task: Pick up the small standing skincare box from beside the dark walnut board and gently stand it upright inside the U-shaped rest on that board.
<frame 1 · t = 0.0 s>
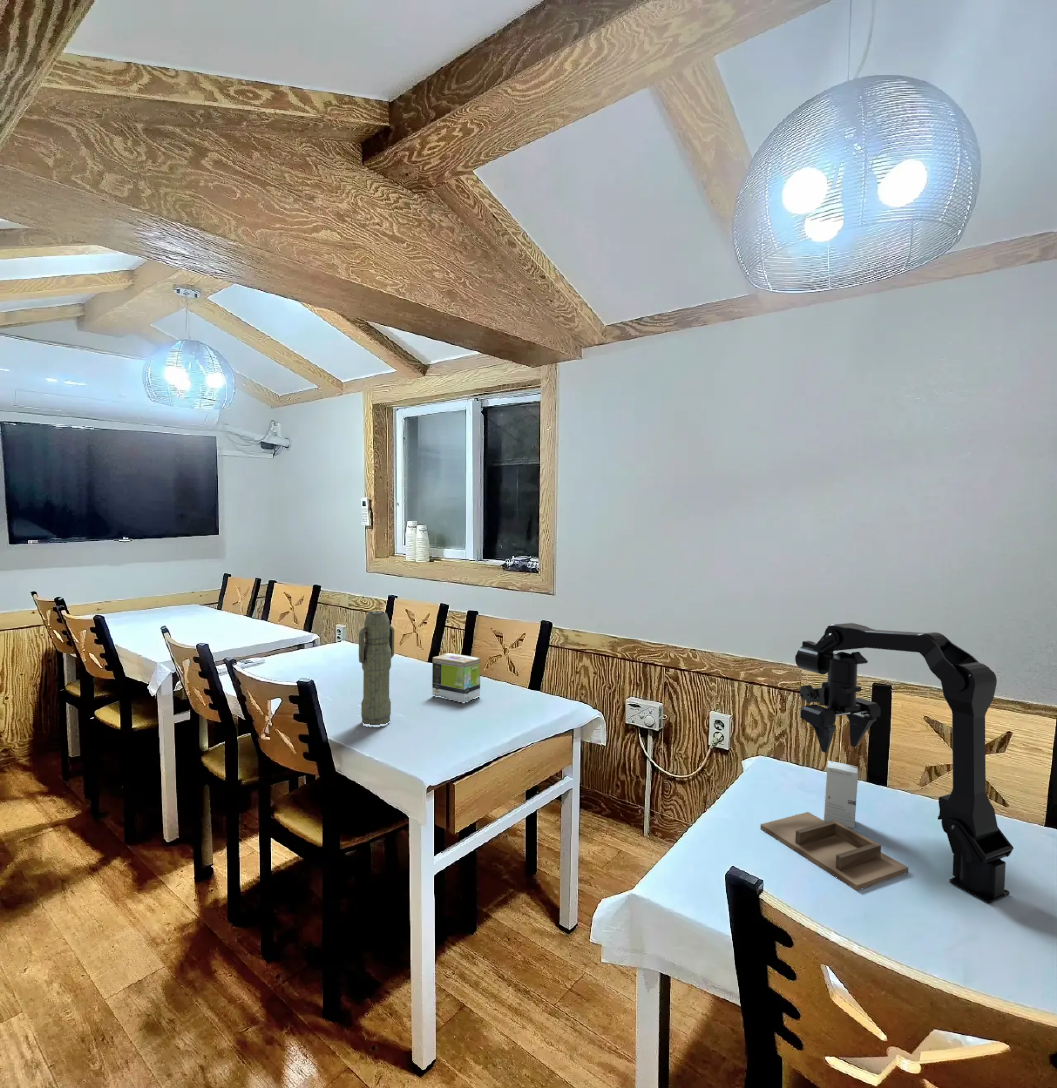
hand: (839, 749, 127), 15 cm above the table, tool pointing down, fingers open, 9 cm apart
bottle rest: (829, 849, 114), on the table
skincare box: (839, 821, 125), on the table
tea box: (456, 697, 208), on the table
olive robed figurine: (376, 723, 180), on the table
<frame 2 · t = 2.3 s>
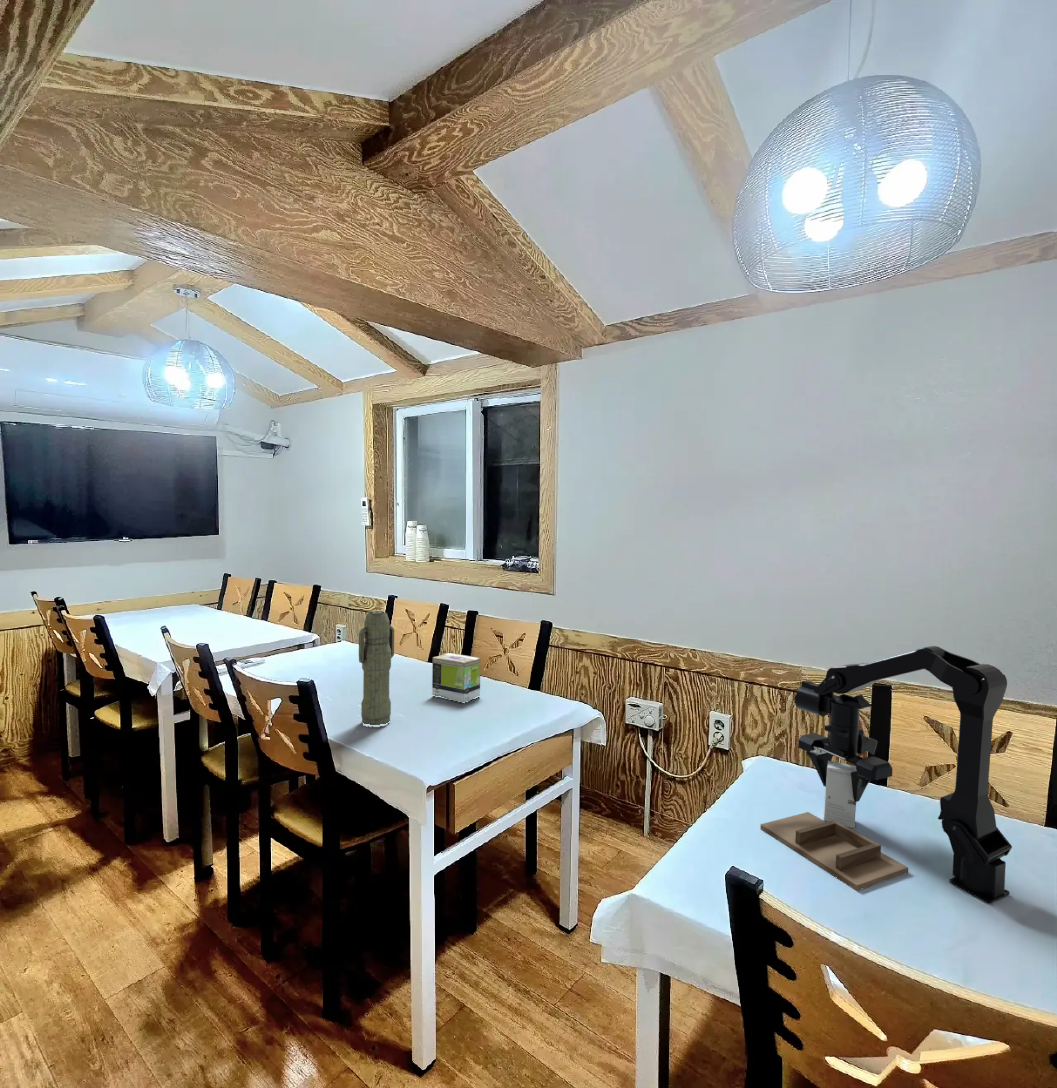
hand: (841, 793, 125), 6 cm above the table, tool pointing down, fingers closed on skincare box, 7 cm apart
skincare box: (839, 821, 125), on the table, touching gripper
everything else where it was.
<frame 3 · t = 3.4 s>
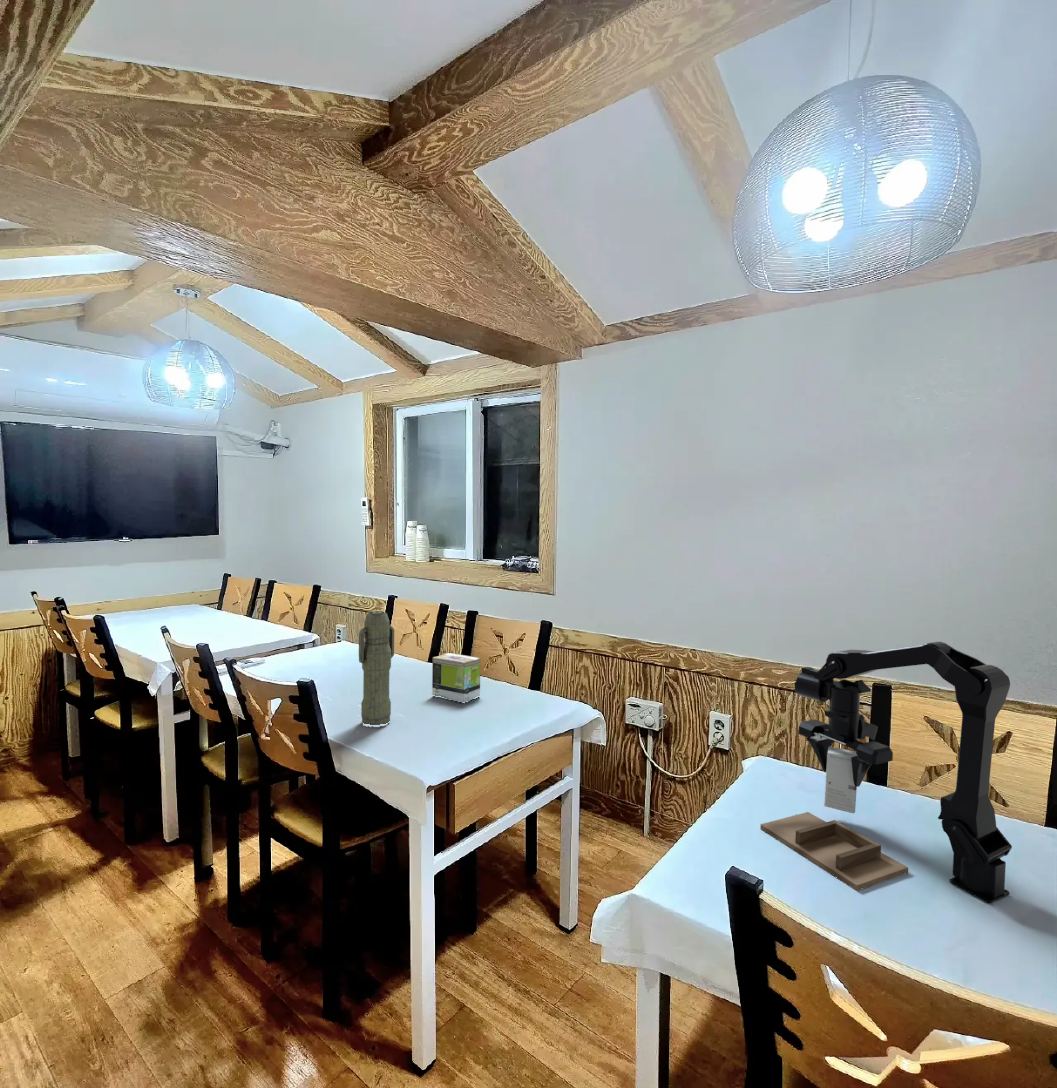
hand: (841, 779, 125), 9 cm above the table, tool pointing down, fingers closed on skincare box, 7 cm apart
skincare box: (840, 807, 125), point 3 cm above the table, touching gripper
everything else where it was.
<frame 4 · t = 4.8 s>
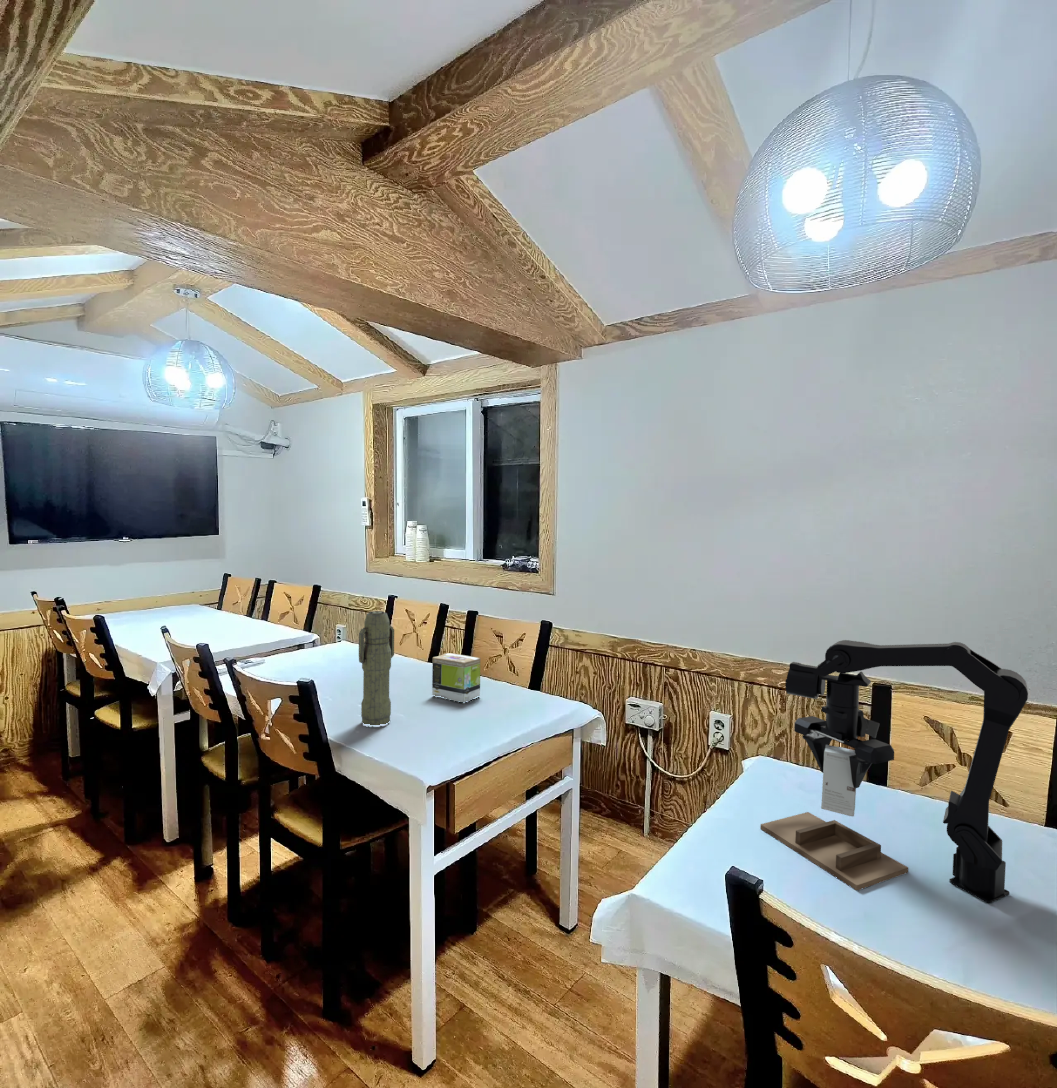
hand: (839, 779, 116), 13 cm above the table, tool pointing down, fingers closed on skincare box, 7 cm apart
skincare box: (838, 810, 116), point 7 cm above the table, touching gripper
everything else where it was.
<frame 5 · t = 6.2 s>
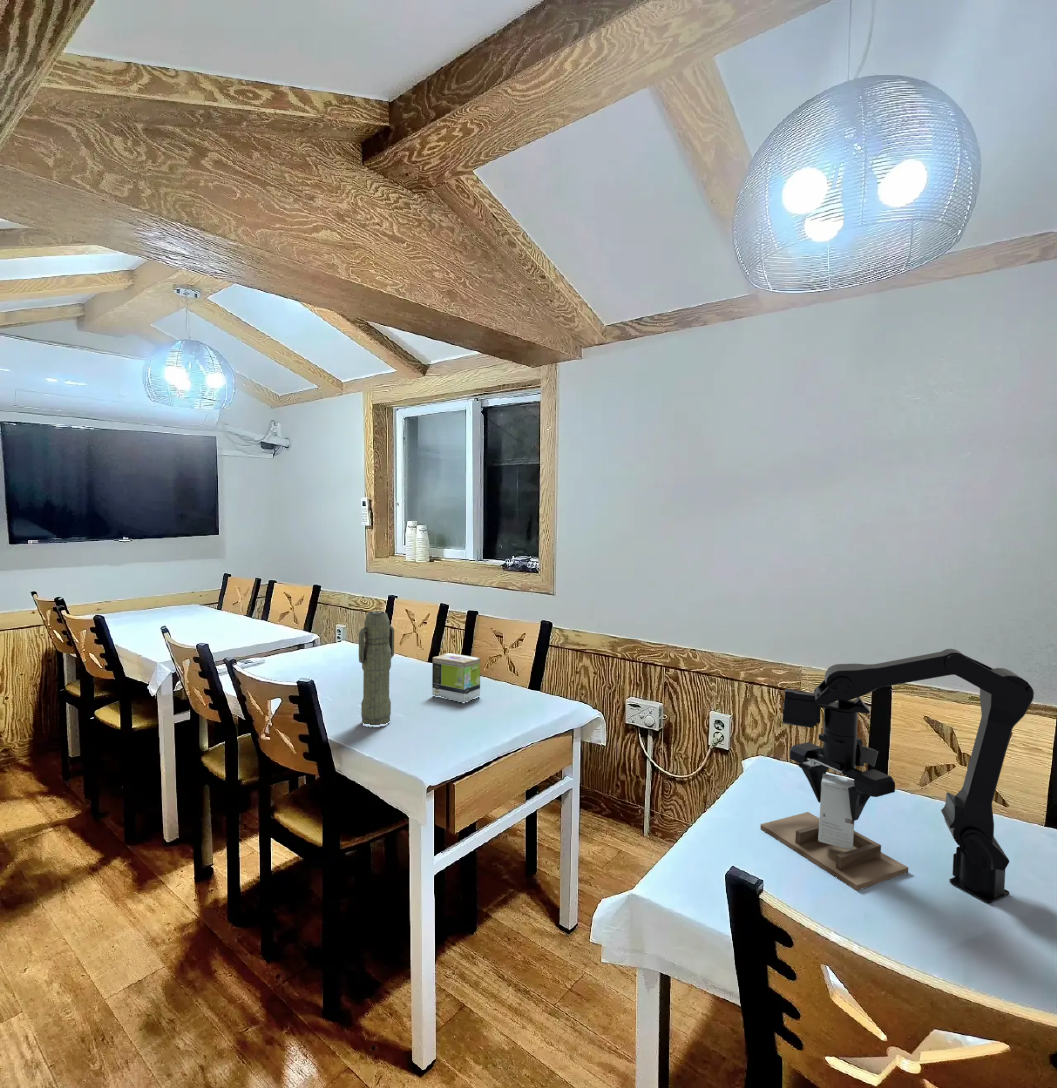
hand: (837, 810, 111), 9 cm above the table, tool pointing down, fingers closed on skincare box, 7 cm apart
skincare box: (836, 842, 111), point 3 cm above the table, touching gripper
everything else where it was.
when the fingers open (8 cm above the table, at t = 7.3 s): skincare box drops 1 cm, resting on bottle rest.
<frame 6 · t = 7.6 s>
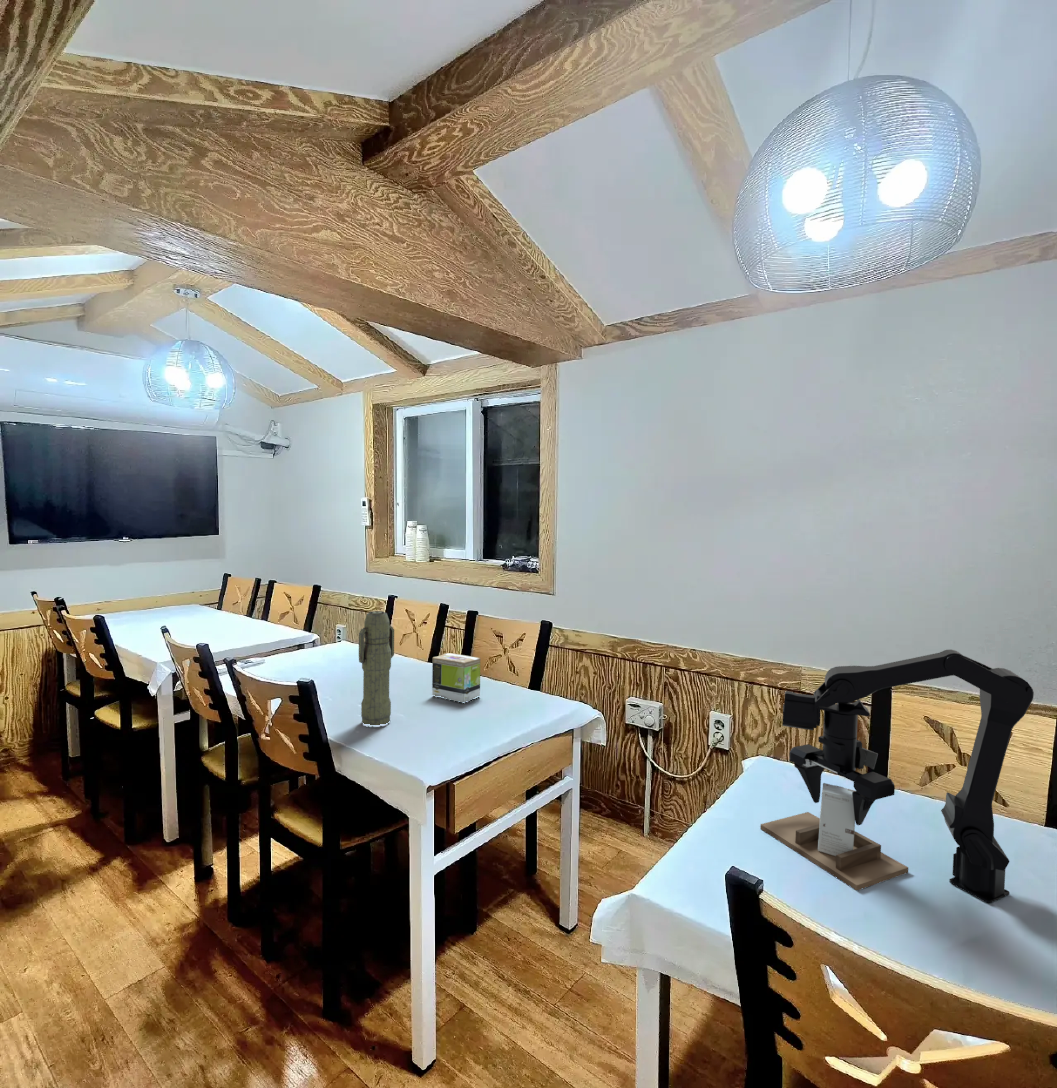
hand: (836, 813, 111), 8 cm above the table, tool pointing down, fingers open, 9 cm apart
skincare box: (835, 851, 111), point 1 cm above the table, touching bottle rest
everything else where it was.
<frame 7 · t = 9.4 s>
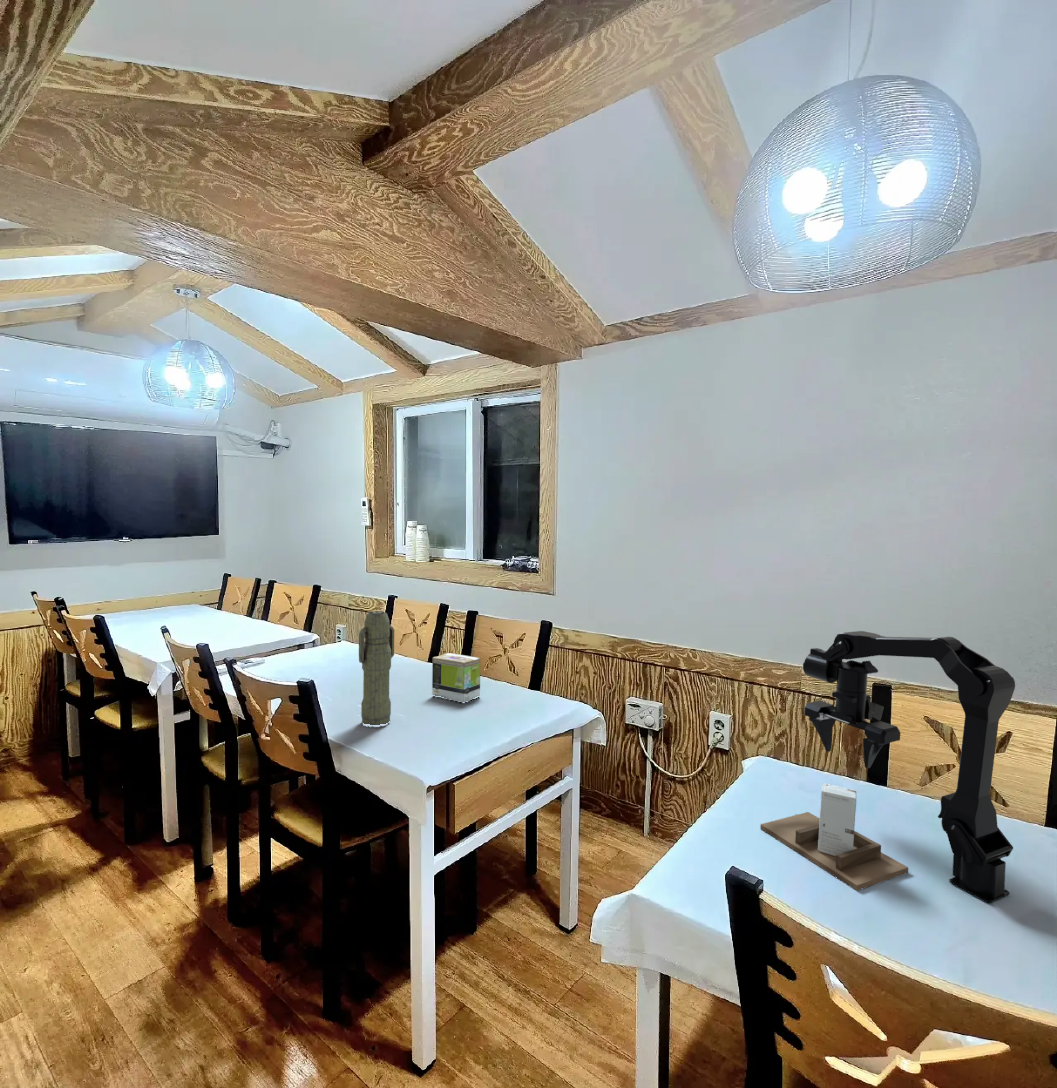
hand: (847, 759, 125), 13 cm above the table, tool pointing down, fingers open, 9 cm apart
nothing on the table moved.
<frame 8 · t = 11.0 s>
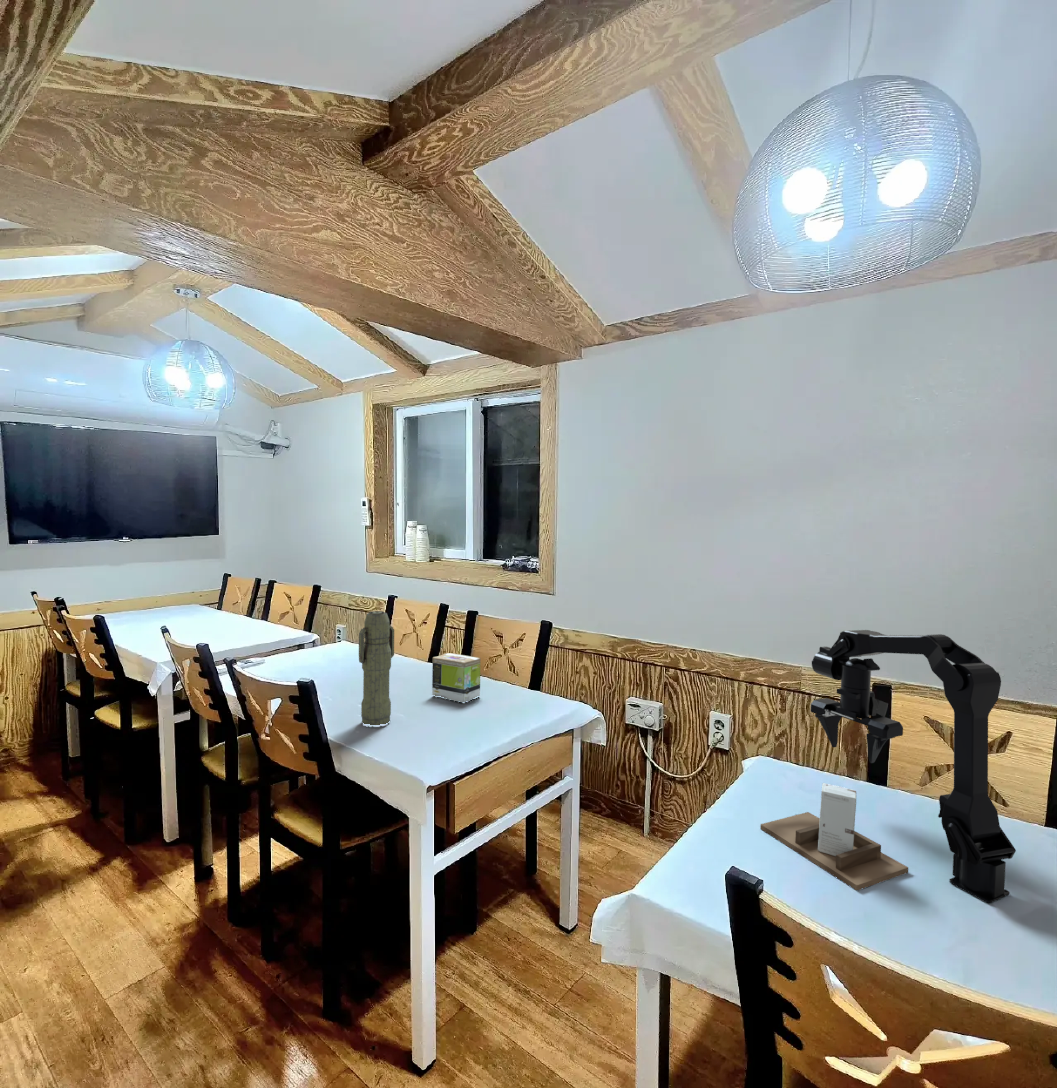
hand: (852, 754, 129), 13 cm above the table, tool pointing down, fingers open, 9 cm apart
nothing on the table moved.
at the end: skincare box 0.1 cm from the target spot on the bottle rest, point 0.8 cm above the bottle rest's base; skincare box tilted 0°; the gripper is holding nothing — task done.
